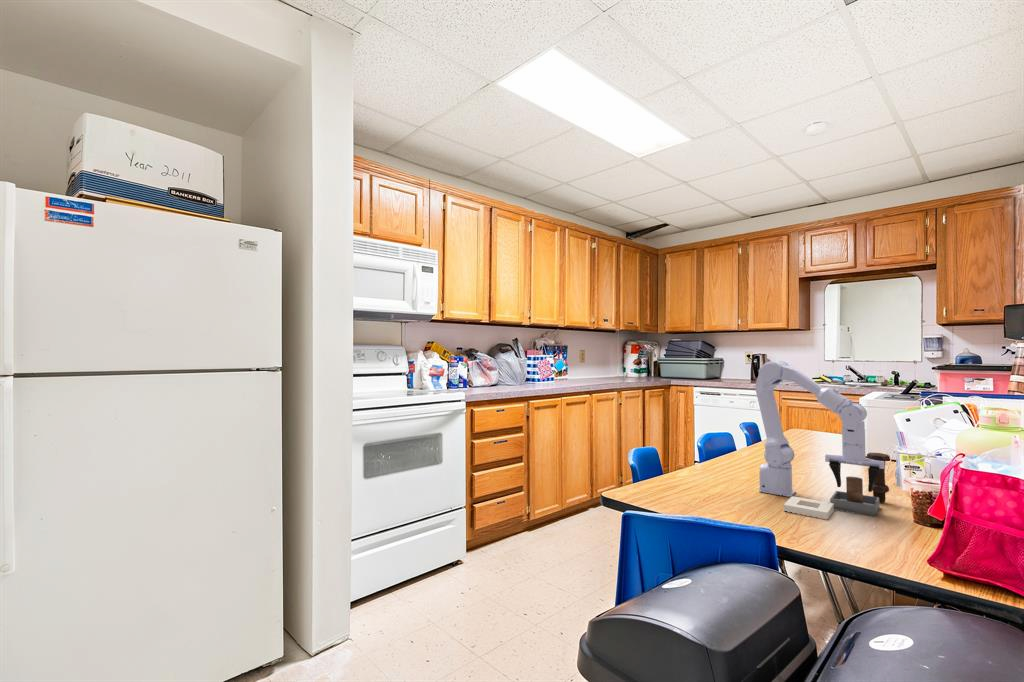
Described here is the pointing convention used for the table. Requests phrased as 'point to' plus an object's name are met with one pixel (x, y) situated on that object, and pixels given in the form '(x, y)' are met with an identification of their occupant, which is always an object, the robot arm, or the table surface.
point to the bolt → (879, 477)
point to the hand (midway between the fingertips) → (854, 488)
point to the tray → (855, 504)
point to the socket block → (809, 507)
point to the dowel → (854, 489)
